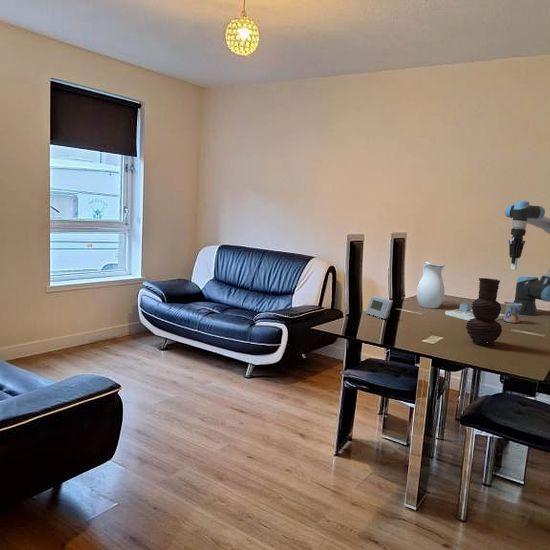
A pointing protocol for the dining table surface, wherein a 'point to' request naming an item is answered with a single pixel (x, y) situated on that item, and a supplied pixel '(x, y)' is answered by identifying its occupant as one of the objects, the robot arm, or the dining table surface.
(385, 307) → the digital clock
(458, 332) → the dining table surface
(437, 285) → the pitcher
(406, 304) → the dining table surface
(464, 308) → the tab
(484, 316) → the vase
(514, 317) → the mug
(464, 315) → the switch board
